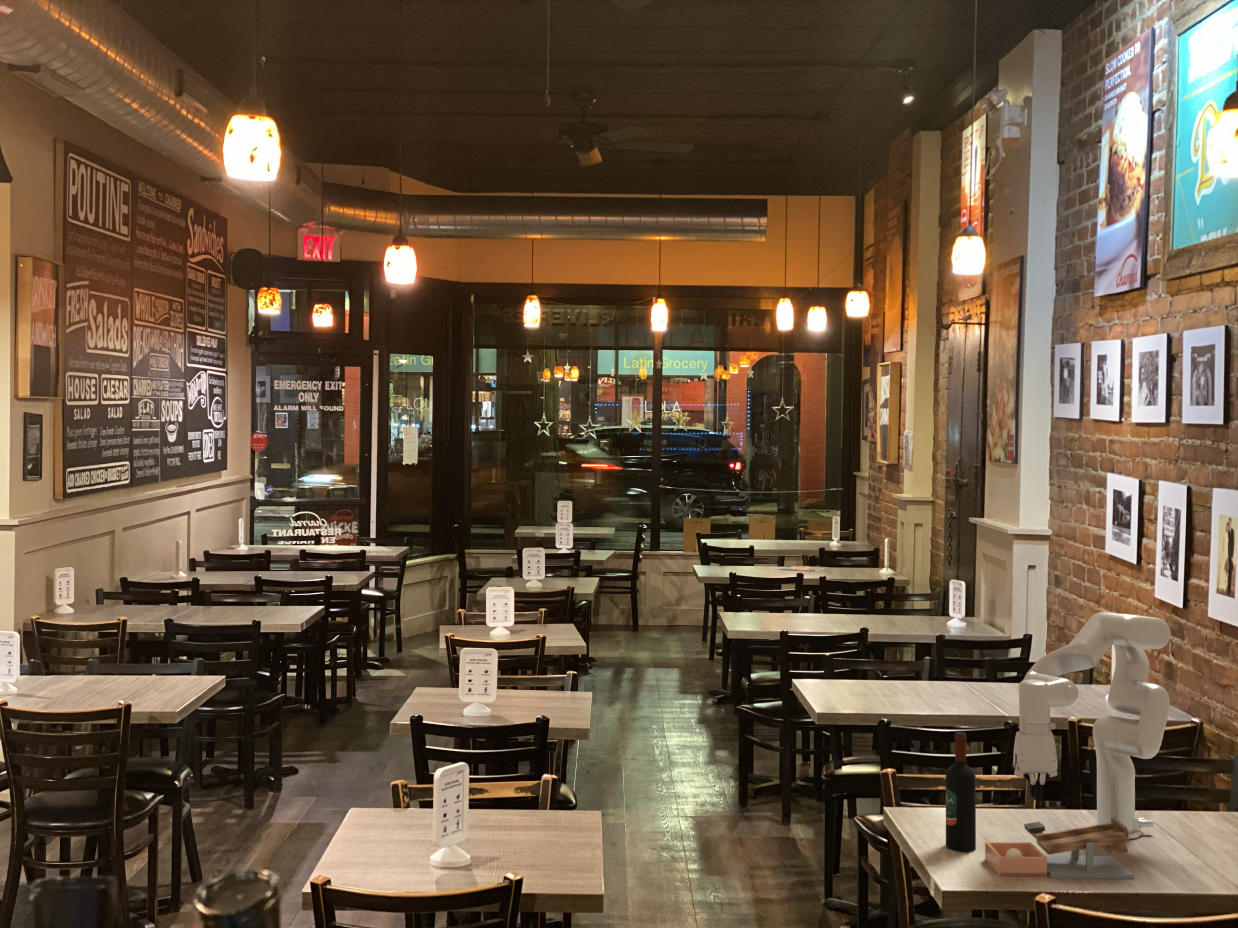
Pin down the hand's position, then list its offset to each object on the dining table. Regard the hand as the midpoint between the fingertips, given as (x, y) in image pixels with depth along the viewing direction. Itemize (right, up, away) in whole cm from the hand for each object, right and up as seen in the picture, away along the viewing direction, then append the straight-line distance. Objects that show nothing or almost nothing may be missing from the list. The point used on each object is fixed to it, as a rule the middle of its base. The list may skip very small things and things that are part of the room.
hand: (1036, 798), depth 290 cm
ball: (-10, -11, -11) cm, 18 cm away
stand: (+7, -14, -12) cm, 20 cm away
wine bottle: (-18, -14, +4) cm, 24 cm away
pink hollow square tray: (-9, -14, -11) cm, 20 cm away
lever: (+8, -10, -7) cm, 15 cm away
